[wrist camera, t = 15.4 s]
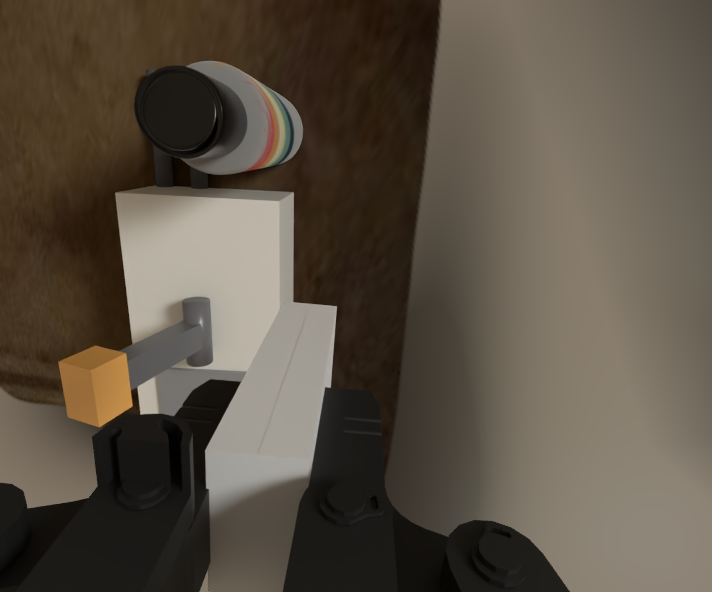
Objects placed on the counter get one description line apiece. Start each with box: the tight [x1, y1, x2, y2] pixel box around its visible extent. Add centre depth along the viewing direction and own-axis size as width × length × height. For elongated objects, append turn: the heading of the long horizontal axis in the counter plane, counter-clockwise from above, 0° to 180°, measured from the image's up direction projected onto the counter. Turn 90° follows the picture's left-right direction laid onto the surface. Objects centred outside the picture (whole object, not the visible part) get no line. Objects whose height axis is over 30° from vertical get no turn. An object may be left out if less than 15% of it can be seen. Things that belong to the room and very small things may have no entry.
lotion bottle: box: [134, 61, 303, 175], centre depth 28 cm, size 6×6×20 cm
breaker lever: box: [59, 297, 213, 427], centre depth 30 cm, size 5×2×11 cm, turn 177°
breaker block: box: [115, 185, 294, 416], centre depth 39 cm, size 20×12×7 cm, turn 177°
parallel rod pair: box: [146, 70, 208, 189], centre depth 37 cm, size 9×4×1 cm, turn 177°
